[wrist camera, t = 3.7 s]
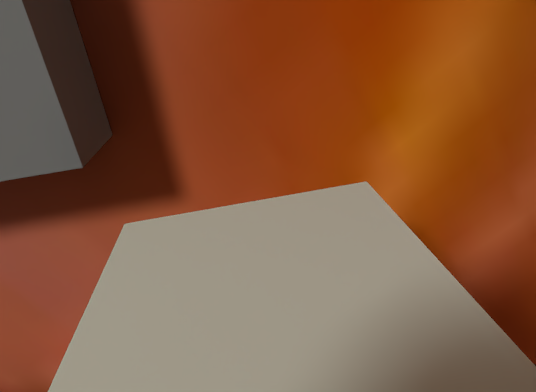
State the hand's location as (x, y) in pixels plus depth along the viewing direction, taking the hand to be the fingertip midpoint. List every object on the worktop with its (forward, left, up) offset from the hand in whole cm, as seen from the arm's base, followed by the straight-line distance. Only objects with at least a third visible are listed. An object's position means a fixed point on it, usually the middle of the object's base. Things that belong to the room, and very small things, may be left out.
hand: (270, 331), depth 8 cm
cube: (0, 0, -1) cm, 1 cm away
